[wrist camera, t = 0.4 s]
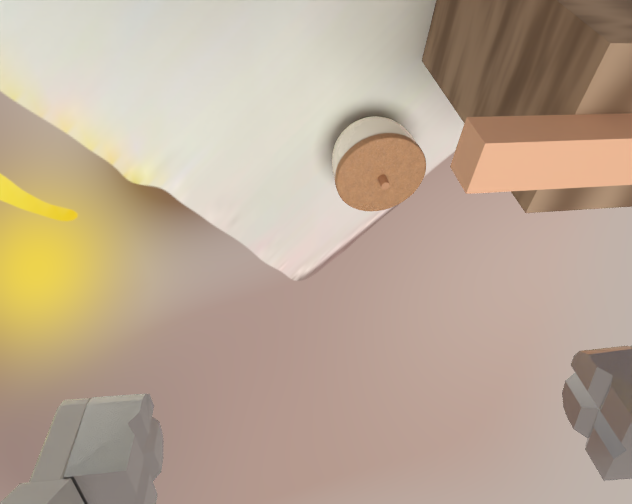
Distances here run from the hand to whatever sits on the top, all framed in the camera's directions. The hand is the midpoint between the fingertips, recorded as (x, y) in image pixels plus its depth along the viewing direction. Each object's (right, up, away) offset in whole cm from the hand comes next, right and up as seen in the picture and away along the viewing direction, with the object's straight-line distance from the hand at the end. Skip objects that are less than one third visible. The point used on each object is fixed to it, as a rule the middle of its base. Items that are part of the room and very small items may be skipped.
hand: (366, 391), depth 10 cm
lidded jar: (+5, +17, +57) cm, 59 cm away
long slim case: (+18, +11, +28) cm, 35 cm away
